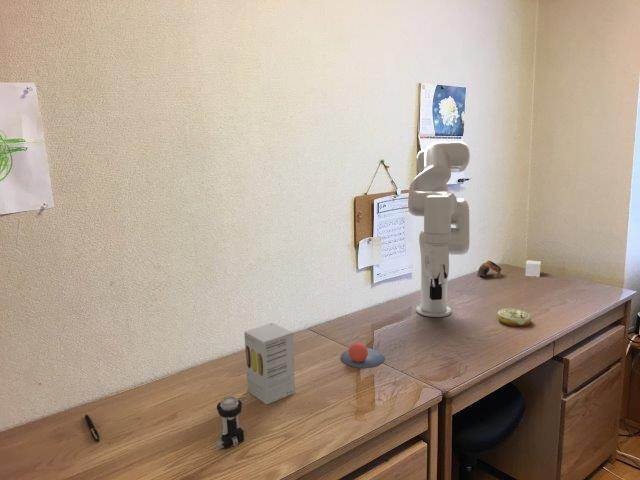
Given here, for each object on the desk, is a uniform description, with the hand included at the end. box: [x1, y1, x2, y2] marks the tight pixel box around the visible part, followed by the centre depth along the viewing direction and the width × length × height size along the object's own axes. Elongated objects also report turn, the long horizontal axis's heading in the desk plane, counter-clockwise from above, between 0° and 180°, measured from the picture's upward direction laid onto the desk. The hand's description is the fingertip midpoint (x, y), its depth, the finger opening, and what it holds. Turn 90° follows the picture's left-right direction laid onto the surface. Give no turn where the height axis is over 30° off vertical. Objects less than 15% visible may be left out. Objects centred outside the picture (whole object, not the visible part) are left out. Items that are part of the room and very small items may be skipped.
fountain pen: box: [84, 412, 100, 443], centre depth 112 cm, size 14×1×2 cm, turn 36°
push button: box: [214, 396, 245, 450], centre depth 104 cm, size 7×5×10 cm
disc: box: [340, 347, 385, 369], centre depth 144 cm, size 13×13×1 cm
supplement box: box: [243, 322, 296, 405], centre depth 125 cm, size 10×9×17 cm
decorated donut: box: [497, 308, 532, 327], centre depth 168 cm, size 10×11×4 cm
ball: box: [348, 342, 368, 363], centre depth 141 cm, size 6×6×6 cm
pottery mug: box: [476, 260, 502, 279], centre depth 221 cm, size 12×10×8 cm
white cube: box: [524, 259, 542, 278], centre depth 223 cm, size 6×6×6 cm
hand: (435, 298), depth 143 cm, fingers closed
